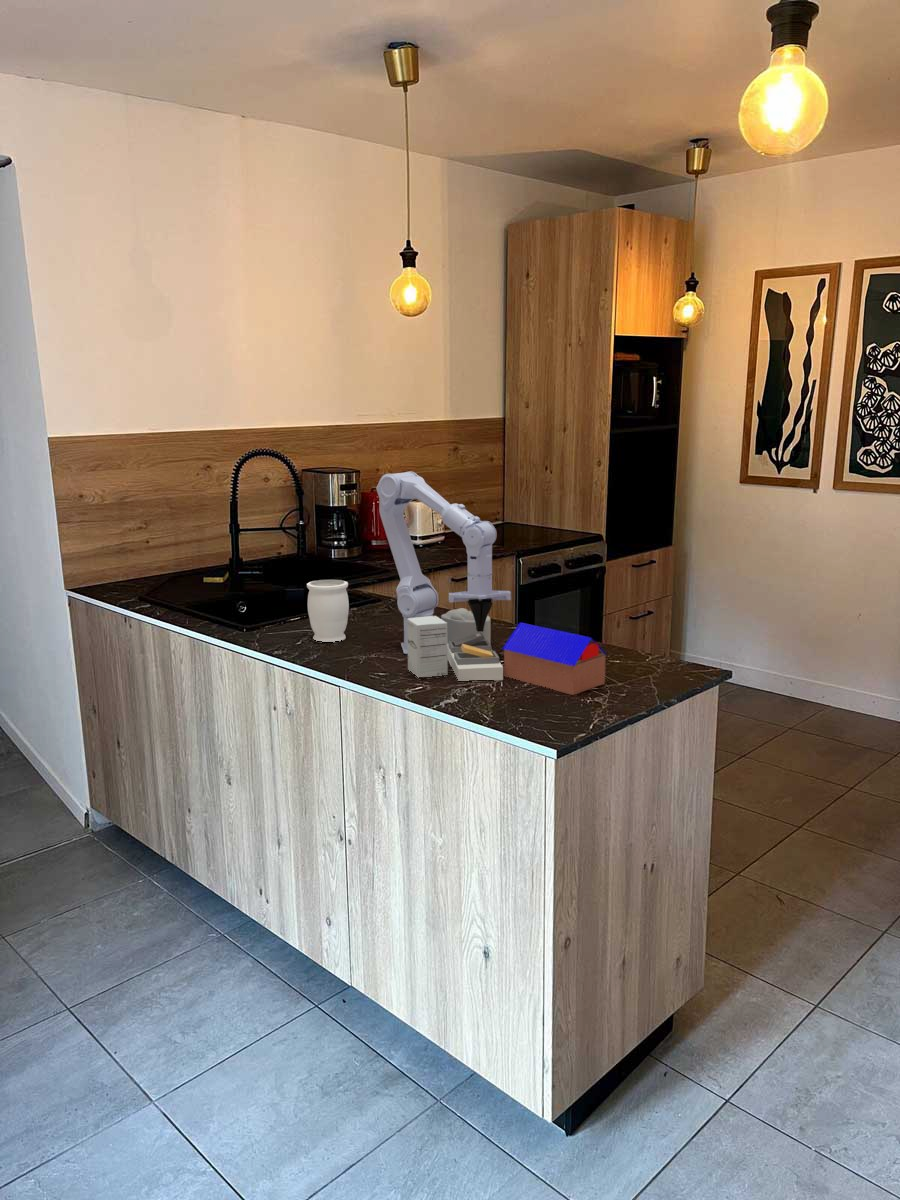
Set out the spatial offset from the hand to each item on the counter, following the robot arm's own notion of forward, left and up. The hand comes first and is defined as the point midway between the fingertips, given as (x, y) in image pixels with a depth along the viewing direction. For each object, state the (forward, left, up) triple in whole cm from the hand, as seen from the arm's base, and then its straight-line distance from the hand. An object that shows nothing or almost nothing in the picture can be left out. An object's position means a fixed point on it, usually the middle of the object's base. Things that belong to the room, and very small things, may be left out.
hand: (479, 630), depth 217 cm
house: (+17, +14, -8) cm, 24 cm away
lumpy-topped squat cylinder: (-16, 0, -8) cm, 18 cm away
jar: (-26, -35, -8) cm, 45 cm away
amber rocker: (+10, -2, -3) cm, 11 cm away
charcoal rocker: (0, -2, -3) cm, 4 cm away
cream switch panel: (+5, -2, -7) cm, 9 cm away
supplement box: (+8, -13, -8) cm, 18 cm away
